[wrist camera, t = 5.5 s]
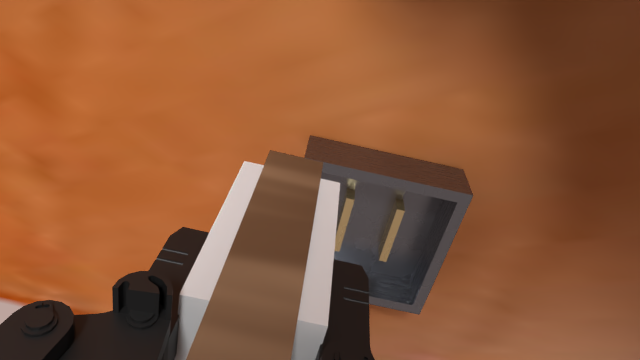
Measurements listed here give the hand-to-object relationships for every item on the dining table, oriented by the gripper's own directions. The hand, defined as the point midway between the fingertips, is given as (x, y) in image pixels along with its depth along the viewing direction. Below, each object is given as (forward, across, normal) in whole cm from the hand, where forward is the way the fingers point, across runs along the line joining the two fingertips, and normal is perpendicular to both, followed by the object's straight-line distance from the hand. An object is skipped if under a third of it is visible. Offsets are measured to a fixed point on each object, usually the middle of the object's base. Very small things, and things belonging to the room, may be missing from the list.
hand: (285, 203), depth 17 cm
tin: (+16, +6, -11) cm, 21 cm away
